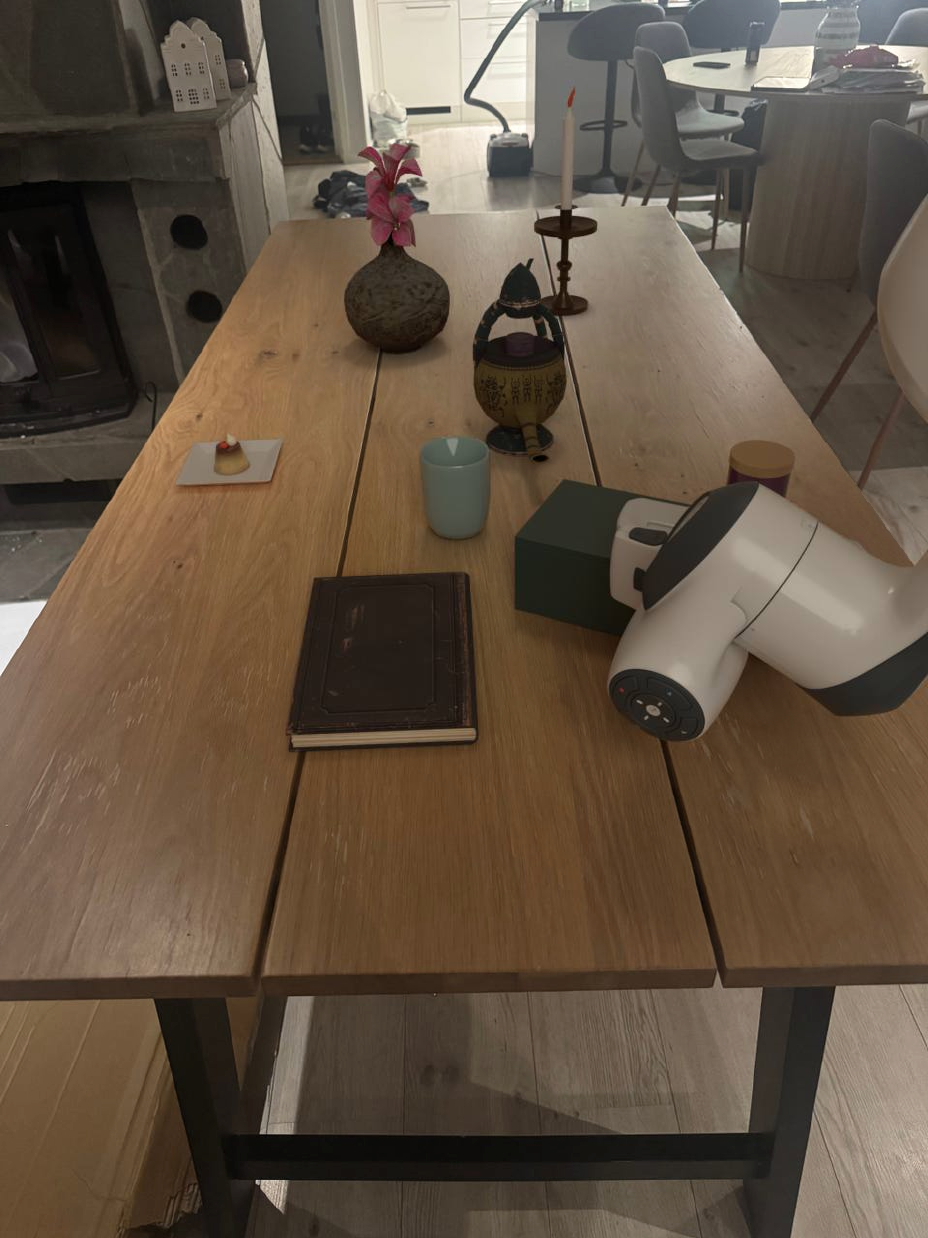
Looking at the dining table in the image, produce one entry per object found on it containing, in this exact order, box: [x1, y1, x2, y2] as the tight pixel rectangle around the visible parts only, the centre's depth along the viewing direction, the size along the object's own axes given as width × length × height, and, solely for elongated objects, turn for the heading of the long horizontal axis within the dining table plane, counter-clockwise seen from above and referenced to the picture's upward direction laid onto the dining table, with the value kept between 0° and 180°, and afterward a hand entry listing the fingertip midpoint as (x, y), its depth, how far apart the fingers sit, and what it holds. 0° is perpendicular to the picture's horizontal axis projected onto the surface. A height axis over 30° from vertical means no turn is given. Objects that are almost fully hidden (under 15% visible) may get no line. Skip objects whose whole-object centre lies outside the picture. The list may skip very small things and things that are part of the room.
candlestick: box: [533, 85, 598, 317], centre depth 157 cm, size 11×11×35 cm
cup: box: [418, 435, 492, 540], centre depth 103 cm, size 8×8×10 cm
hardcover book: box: [284, 571, 479, 753], centre depth 87 cm, size 16×23×2 cm
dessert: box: [174, 433, 284, 487], centre depth 119 cm, size 12×12×5 cm
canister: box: [725, 439, 796, 499], centre depth 83 cm, size 5×5×13 cm
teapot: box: [472, 257, 567, 465], centre depth 114 cm, size 12×25×23 cm, turn 6°
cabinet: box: [514, 478, 692, 638], centre depth 92 cm, size 16×13×9 cm
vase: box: [343, 142, 451, 355], centre depth 146 cm, size 17×18×30 cm
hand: (753, 509), depth 83 cm, fingers closed on canister, 5 cm apart
